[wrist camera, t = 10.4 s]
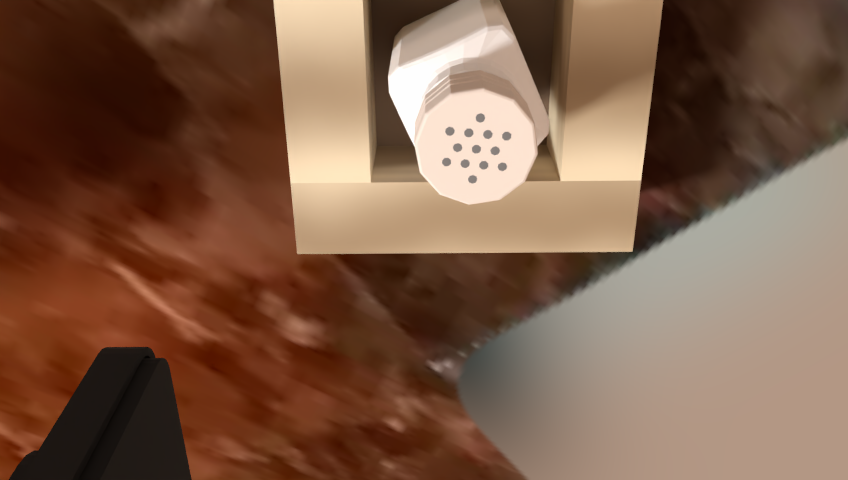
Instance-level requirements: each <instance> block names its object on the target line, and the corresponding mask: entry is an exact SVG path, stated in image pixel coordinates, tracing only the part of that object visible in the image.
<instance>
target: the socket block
mask: <svg viewBox="0 0 848 480" xmlns="http://www.w3.org/2000/svg"><path fill="white" fill-rule="evenodd" d="M457 1H459V0H274V10H275V21H276V31H277V42H278V53H279V63H280V74H281V85H282V96H283V106H284V117H285V128H286V138H287V149H288V160H289V170H290V181H291V192H292V203H293V213H294V224H295V235H296V245H297V254H365V253H509V252H632V251H633V243H634V235H635V226H636V218H637V210H638V202H639V194H640V186H641V178H642V169H643V161H644V153H645V145H646V137H647V129H648V121H649V112H650V104H651V96H652V88H653V80H654V72H655V64H656V55H657V47H658V39H659V31H660V23H661V15H662V7H663V0H500V2H501V5H502V7H503V9H504V12H505V14H506V16H507V18H508V21H509V23H510V25H511V28H512V30H513V32H514V35H515V37H516V39H517V42H518V44H519V47H520V49H521V52H522V54H523V56H524V59H525V61H526V64H527V66H528V69H529V71H530V73H531V76H532V78H533V81H534V83H535V86H536V88H537V91H538V93H539V95H540V98H541V100H542V103H543V105H544V108H545V110H546V113H547V115H548V118H549V120H550V121H549V133H548V135H547V136H546V137H545V138H544V139H543V141H542V142H541V143H540V144H539V145H538V146H537V148H538V155H537V157H536V159H535V161H534V163H533V166H532V168H531V170H530V172H529V174H528V176H527V179H526V181H525V182H524V183H522V184H521V185H520V186H518V187H517V188H516V189H514V190H513V191H511V192H510V193H509V194H507V195H506V196H505V197H503V198H502V199H501V200H496V201H490V202H483V203H477V204H471V205H468V204H465V203H462V202H460V201H457V200H454V199H451V198H448V197H445V196H442V195H440V194H439V193H438V192H437V191H436V190H435V189H434V188H433V187H432V186H431V184H430V183H429V182H428V181H427V180H426V179H425V178H424V177H423V176H422V174H421V173H420V171H419V166H418V161H417V156H416V150H415V146H414V144H413V142H412V141H411V139H410V137H409V135H408V133H407V130H406V128H405V126H404V124H403V122H402V120H401V118H400V116H399V114H398V111H397V109H396V107H395V105H394V103H393V100H392V98H391V96H390V94H389V85H388V73H389V67H390V61H391V55H392V49H393V43H394V37H395V36H396V34H397V33H398V32H399V31H400V30H401V29H402V28H403V27H404V26H406V25H408V24H410V23H412V22H414V21H416V20H419V19H421V18H423V17H425V16H427V15H429V14H431V13H433V12H436V11H438V10H440V9H442V8H444V7H446V6H448V5H450V4H452V3H455V2H457Z"/></svg>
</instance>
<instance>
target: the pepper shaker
mask: <svg viewBox="0 0 848 480" xmlns="http://www.w3.org/2000/svg"><path fill="white" fill-rule="evenodd" d="M388 85H389V94H390V96H391V98H392V100H393V103H394V105H395V107H396V109H397V111H398V114H399V116H400V118H401V120H402V122H403V124H404V126H405V128H406V130H407V133H408V135H409V137H410V139H411V141H412V142H413V144H414V146H415V150H416V156H417V161H418V166H419V171H420V173H421V174H422V176H423V177H424V178H425V179H426V180H427V181H428V182H429V183H430V184H431V186H432V187H433V188H434V189H435V190H436V191H437V192H438V193H439V194H440V195H442V196H445V197H448V198H451V199H454V200H457V201H460V202H462V203H465V204H468V205H471V204H477V203H483V202H490V201H496V200H501V199H502V198H503V197H505V196H506V195H507V194H509V193H510V192H511V191H513V190H514V189H516V188H517V187H518V186H520V185H521V184H522V183H524V182H525V181H526V179H527V176H528V174H529V172H530V170H531V168H532V166H533V163H534V161H535V159H536V157H537V155H538V148H537V146H538V145H539V144H540V143H541V142H542V141H543V139H544V138H545V137H546V136H547V135H548V133H549V121H550V120H549V118H548V115H547V113H546V110H545V108H544V105H543V103H542V100H541V98H540V95H539V93H538V91H537V88H536V86H535V83H534V81H533V78H532V76H531V73H530V71H529V69H528V66H527V64H526V61H525V59H524V56H523V54H522V52H521V49H520V47H519V44H518V42H517V39H516V37H515V35H514V32H513V30H512V28H511V25H510V23H509V21H508V18H507V16H506V14H505V12H504V9H503V7H502V5H501V2H500V0H459V1H457V2H455V3H452V4H450V5H448V6H446V7H444V8H442V9H440V10H438V11H436V12H433V13H431V14H429V15H427V16H425V17H423V18H421V19H419V20H416V21H414V22H412V23H410V24H408V25H406V26H404V27H403V28H402V29H401V30H400V31H399V32H398V33H397V34H396V36H395V37H394V43H393V49H392V55H391V61H390V67H389V73H388Z"/></svg>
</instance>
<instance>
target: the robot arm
mask: <svg viewBox="0 0 848 480" xmlns="http://www.w3.org/2000/svg"><path fill="white" fill-rule="evenodd" d="M9 480H191V475H190V470H189V465H188V460H187V455H186V450H185V444H184V439H183V434H182V429H181V424H180V419H179V414H178V409H177V404H176V399H175V394H174V389H173V384H172V378H171V373H170V368H169V365H168V362H167V360H166V359H164V358H155V355H154V353H153V351H152V349H150V348H148V347H106V348H104V349H102V350H101V351H100V352H99V354H98V355H97V357H96V358H95V360H94V362H93V363H92V365H91V367H90V368H89V370H88V371H87V373H86V375H85V376H84V378H83V379H82V381H81V383H80V384H79V386H78V388H77V389H76V391H75V392H74V394H73V396H72V397H71V399H70V400H69V402H68V404H67V405H66V407H65V409H64V410H63V412H62V413H61V415H60V417H59V418H58V420H57V421H56V423H55V425H54V426H53V428H52V430H51V431H50V433H49V434H48V436H47V438H46V439H45V441H44V442H43V444H42V446H41V447H40V449H39V451H33V452H31V453H29V454H27V455H26V456H25V457H24V458H23V460H22V461H21V462H20V463H19V464H18V466H17V468H16V469H15V471H14V472H13V474H12V475H11V477H10V479H9Z"/></svg>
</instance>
